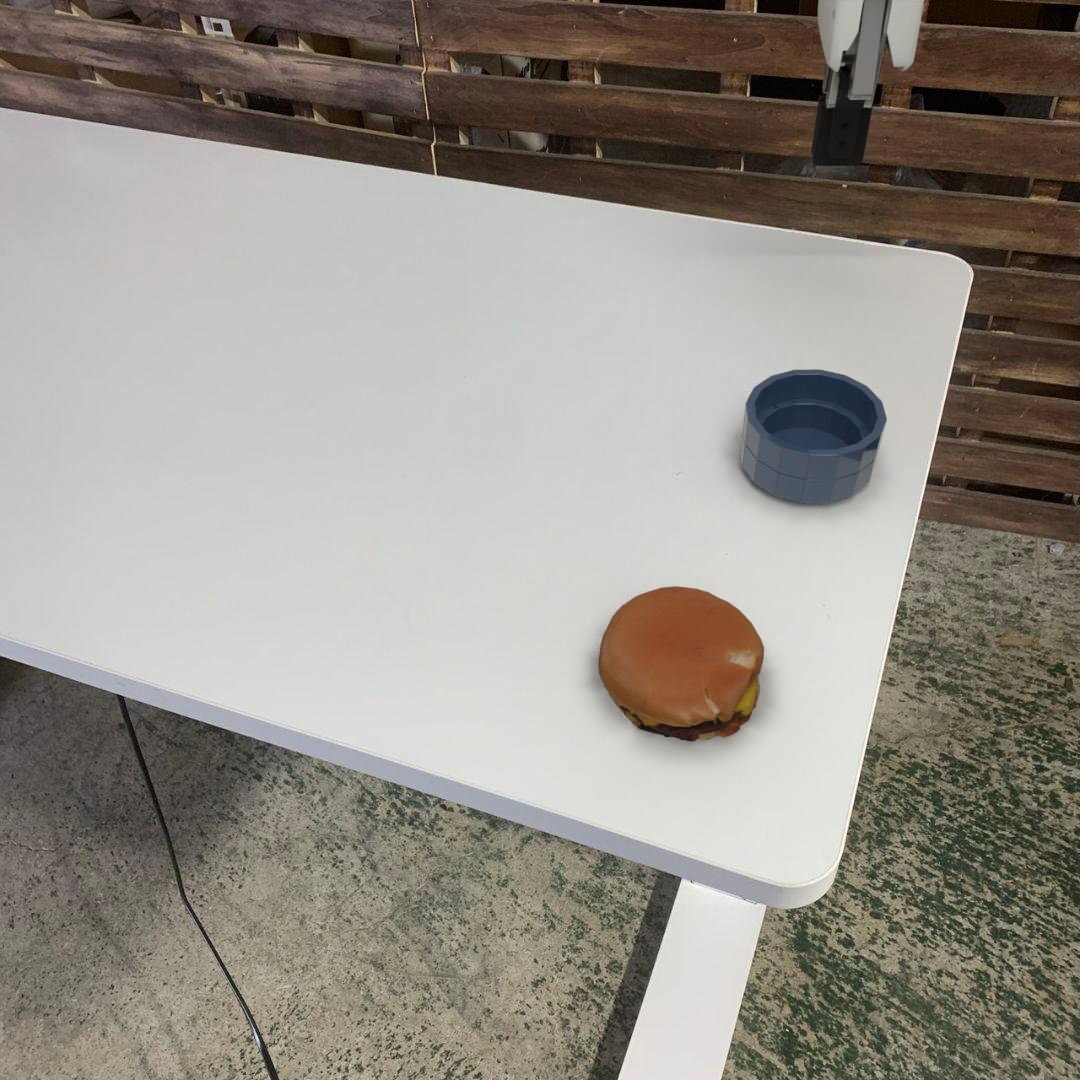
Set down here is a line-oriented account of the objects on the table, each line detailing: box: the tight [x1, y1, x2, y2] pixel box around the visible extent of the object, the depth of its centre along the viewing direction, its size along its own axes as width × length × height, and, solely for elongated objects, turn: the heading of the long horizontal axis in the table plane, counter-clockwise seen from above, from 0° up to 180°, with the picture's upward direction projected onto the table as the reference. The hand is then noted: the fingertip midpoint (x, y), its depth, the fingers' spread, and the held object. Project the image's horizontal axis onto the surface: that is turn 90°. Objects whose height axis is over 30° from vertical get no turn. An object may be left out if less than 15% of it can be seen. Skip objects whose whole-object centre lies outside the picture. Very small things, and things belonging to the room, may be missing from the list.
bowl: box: [739, 368, 888, 504], centre depth 68 cm, size 9×9×5 cm
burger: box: [597, 585, 765, 743], centre depth 56 cm, size 10×9×5 cm
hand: (835, 159), depth 65 cm, fingers closed
